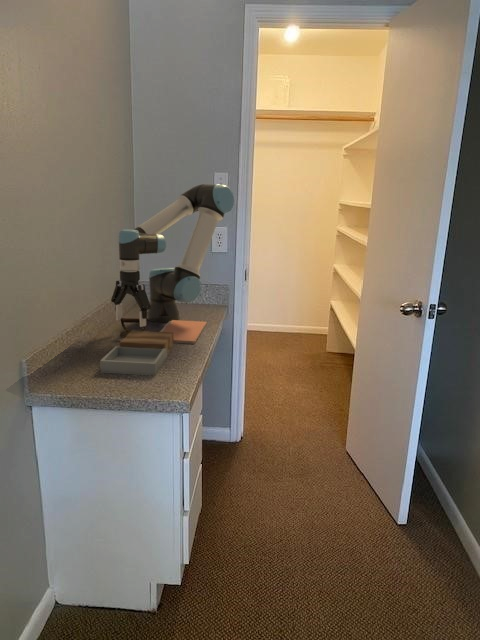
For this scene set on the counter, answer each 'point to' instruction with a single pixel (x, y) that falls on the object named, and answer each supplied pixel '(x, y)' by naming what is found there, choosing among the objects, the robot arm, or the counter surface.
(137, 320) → the clothes iron
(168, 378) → the counter surface
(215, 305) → the counter surface
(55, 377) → the counter surface
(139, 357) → the bin
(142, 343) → the walnut stand
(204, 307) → the counter surface
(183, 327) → the notebook
